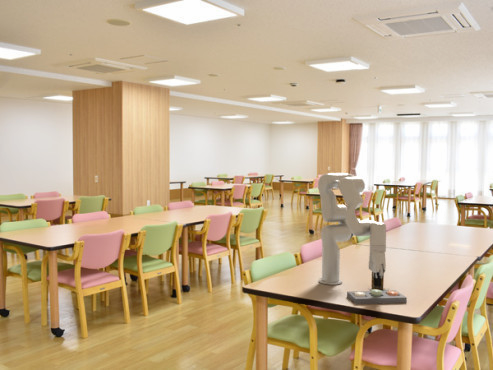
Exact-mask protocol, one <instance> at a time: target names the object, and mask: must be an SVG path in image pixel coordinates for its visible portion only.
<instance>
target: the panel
mask: <svg viewBox="0 0 493 370" xmlns="http://www.w3.org/2000/svg"><path fill="white" fill-rule="evenodd" d="M388 291H395V292H398V296H389V295H388V294H387V292H388ZM355 292H363V293H365V297H356V296H355ZM346 297H347V298H348V299H349V300H350V301H351V302H353V303H354V304H355V305H372V304H375V305H377V304H404V303H405V304H407V299H408V297H407V296H404V294H402V293H400V292H399V291H397V290H396V289H394V290H393V289H392V290H390V289H389V290H387V291H382V296H372V295H371V290H361V291H360V290H357V291H354V290H353V291H347V292H346Z"/></svg>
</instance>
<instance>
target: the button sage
mask: <svg viewBox="0 0 493 370" xmlns="http://www.w3.org/2000/svg"><path fill="white" fill-rule="evenodd" d="M370 291H371V295H372V296H382V291H381V290H377V289H373V290H371V289H370Z"/></svg>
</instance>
